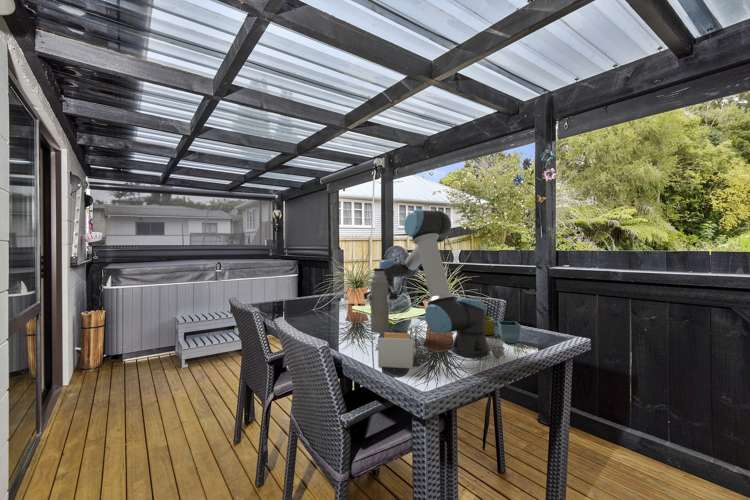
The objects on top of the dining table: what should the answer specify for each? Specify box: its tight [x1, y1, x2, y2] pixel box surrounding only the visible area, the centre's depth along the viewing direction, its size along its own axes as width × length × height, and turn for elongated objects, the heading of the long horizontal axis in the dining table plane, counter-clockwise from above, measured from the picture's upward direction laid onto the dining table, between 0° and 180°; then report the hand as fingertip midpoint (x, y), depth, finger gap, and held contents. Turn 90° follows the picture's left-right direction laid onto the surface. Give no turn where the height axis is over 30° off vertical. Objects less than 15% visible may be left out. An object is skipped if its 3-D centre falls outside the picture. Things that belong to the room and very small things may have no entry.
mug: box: [485, 316, 495, 336], centre depth 182 cm, size 12×10×10 cm
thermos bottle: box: [369, 267, 390, 334], centre depth 158 cm, size 8×8×28 cm
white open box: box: [377, 337, 415, 369], centre depth 142 cm, size 17×13×11 cm
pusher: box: [383, 332, 410, 339], centre depth 139 cm, size 4×10×10 cm, turn 81°
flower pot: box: [497, 320, 521, 344], centre depth 167 cm, size 9×9×9 cm
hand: (377, 298), depth 154 cm, fingers closed on thermos bottle, 8 cm apart
